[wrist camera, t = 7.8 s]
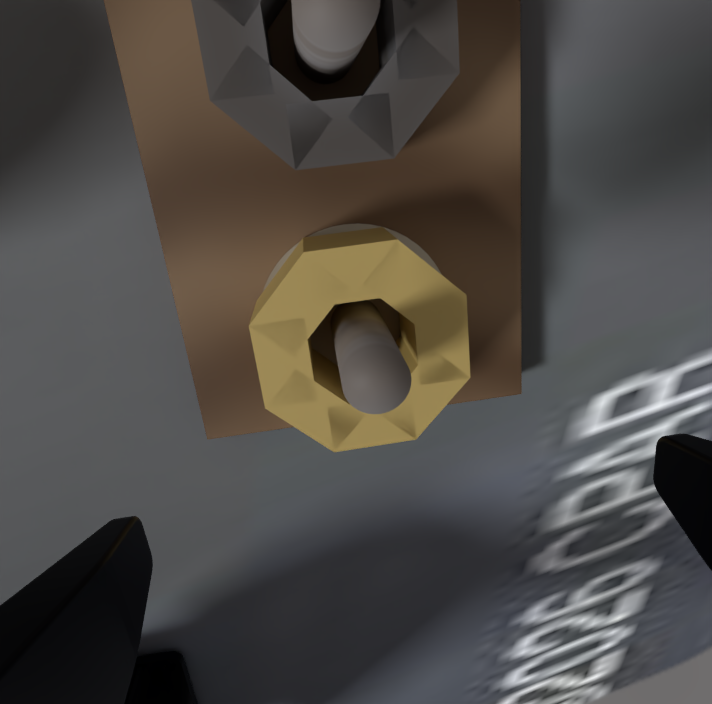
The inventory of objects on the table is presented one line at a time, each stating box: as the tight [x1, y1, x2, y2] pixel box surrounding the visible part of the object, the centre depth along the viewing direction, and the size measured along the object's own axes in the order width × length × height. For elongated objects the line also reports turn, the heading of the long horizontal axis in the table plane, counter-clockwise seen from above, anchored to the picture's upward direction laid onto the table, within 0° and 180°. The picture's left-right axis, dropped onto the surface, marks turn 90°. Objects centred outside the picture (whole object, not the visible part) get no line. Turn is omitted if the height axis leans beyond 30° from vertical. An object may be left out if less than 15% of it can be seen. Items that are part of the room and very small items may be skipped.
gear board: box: [104, 0, 521, 439], centre depth 15 cm, size 16×12×7 cm
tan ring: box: [249, 227, 470, 452], centre depth 17 cm, size 6×6×3 cm
